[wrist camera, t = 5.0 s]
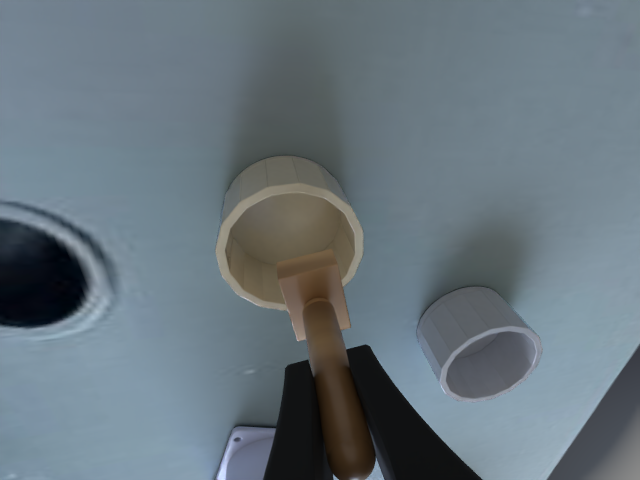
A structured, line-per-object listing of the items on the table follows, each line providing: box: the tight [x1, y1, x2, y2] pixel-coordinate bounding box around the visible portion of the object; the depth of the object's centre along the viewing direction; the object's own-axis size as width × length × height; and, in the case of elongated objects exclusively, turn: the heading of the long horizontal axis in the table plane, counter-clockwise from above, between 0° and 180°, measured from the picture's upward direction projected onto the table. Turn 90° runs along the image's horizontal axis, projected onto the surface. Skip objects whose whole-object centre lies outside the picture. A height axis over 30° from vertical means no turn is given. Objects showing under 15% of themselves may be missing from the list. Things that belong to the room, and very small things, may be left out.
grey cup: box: [417, 286, 543, 402], centre depth 24 cm, size 6×6×4 cm
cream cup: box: [215, 156, 363, 311], centre depth 18 cm, size 6×6×4 cm
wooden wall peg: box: [276, 249, 376, 480], centre depth 12 cm, size 3×2×7 cm
